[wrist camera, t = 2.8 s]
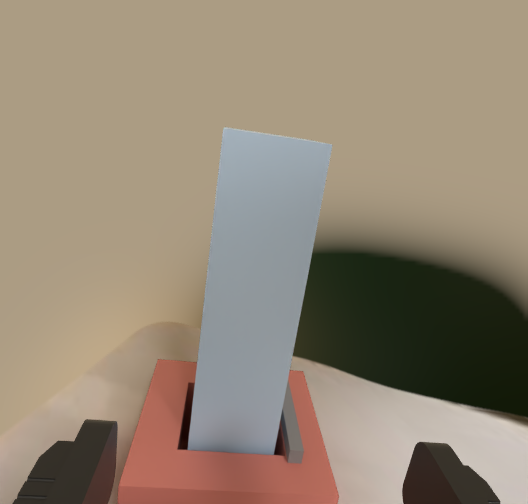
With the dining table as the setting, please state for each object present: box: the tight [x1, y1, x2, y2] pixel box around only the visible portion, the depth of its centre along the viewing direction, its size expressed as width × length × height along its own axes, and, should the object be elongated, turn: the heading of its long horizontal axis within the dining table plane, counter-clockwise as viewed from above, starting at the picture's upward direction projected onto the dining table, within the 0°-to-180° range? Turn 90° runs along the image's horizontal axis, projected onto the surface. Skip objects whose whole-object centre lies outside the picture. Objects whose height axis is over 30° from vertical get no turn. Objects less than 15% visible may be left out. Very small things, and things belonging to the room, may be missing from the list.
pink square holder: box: [118, 359, 339, 504], centre depth 24 cm, size 10×10×6 cm
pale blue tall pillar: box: [188, 127, 332, 455], centre depth 21 cm, size 4×4×20 cm
